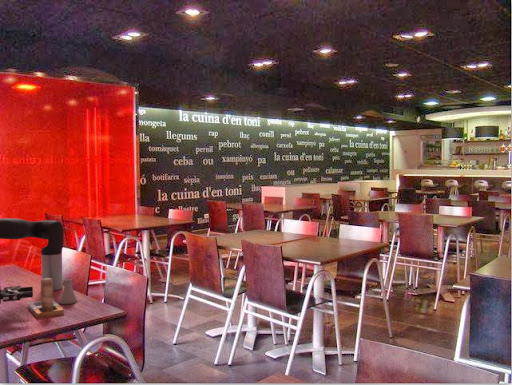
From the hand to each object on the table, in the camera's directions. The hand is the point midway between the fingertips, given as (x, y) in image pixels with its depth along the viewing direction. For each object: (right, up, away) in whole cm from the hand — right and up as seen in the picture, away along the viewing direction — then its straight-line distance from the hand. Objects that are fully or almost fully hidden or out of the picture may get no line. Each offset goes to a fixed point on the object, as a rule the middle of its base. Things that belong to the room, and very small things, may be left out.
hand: (32, 291), depth 199 cm
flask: (+7, -9, +20) cm, 23 cm away
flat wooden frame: (+2, -9, +7) cm, 12 cm away
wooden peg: (+5, -9, +3) cm, 11 cm away
